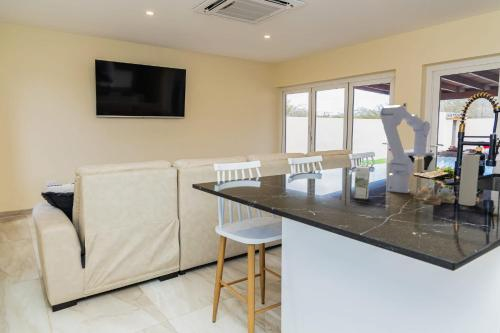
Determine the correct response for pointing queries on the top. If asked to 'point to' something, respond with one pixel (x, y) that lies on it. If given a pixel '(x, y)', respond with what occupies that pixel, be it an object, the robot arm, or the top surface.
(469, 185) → the paper towel roll
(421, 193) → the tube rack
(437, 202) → the stand
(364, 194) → the syrup box
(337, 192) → the top surface
